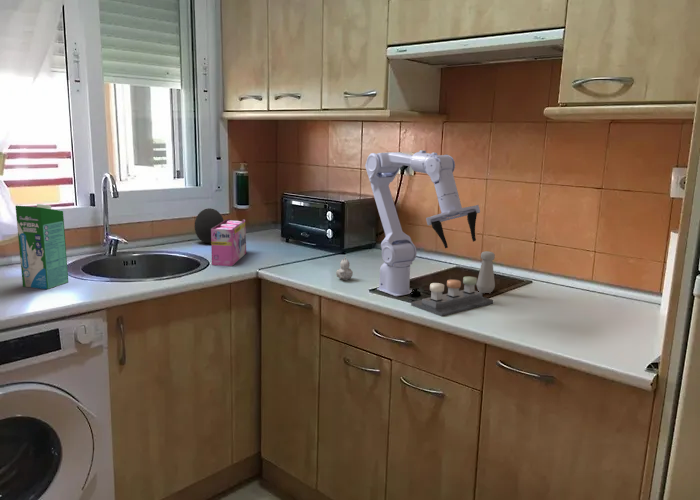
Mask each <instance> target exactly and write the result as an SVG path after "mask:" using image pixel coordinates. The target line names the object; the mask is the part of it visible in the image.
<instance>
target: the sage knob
mask: <svg viewBox="0 0 700 500" xmlns="http://www.w3.org/2000/svg"><path fill="white" fill-rule="evenodd" d="M477 280H478V277H476V276H469V275H468V276H463V278H462V284H463V290H464V292H468V293H472V292H474V290H475V291H476V289H475V287H476V286H477V285H476V284H477Z"/></svg>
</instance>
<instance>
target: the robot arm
mask: <svg viewBox="0 0 700 500" xmlns="http://www.w3.org/2000/svg"><path fill="white" fill-rule="evenodd" d="M364 166H365V170H366V173H367V176H368V180H369V183H370V187H371V191H372V195H373V198H374V200H375V204H376V208H377V211H378V215H379V217H380V221H381V225H382V228H383V232H384V236H385V237H384V239H383V240H381V243H380V247H381V258H382V260H383V263H382V264H381V265H380V268H379V277H378V278H379V279H378V281H379V282H378V284H379V286H378V287H377V288H376V290H377V291H380V292H383V293H386V294H389V295H391V296H394V297H400V296H405V295H411V294H412V293H411V291H412V290H413V289H411V288H410V281H411V277H410V276H411V265H413V262H414V261H415V260H416V258H417V254H418V253H417V248H416V245H415V244H414V243H413V241H412V238H411V236H410V235H409V234H406V233H405V232H404V231H403V229H402V225H401V221H400V219H399V216H398V212H397V209H396V206H395V202H394V199H393V196H392V192H391V189H390V184H391V183H392V182H394V179H395V178H396V177H397V174H399V171H400V169H401V168H403V166H408V167H410V168H411V170H412V171H414V172H416V173H421V174H422V173H423V174H427V176H429V178H430V180H431V182H432V183H433V184H434V185H433V186H434V189H435V193H436V197H437V198H436V199H437V202H438V205H439V208H440V213H438V214H435V215H432V216H428V217H426V218H425V220H426V224H427V226H431V228H432V229H433V230H434V231H435V233H436V234H437V236H438V238H439V239H440V240H441V242H442V244H443V247H444V249H448V248H449V247H448V243H447V239H446V237H445V232H444V229H443V225H442V222H447V221H450V220H454V219H458V218H459V219H460V218H462V217H467V219H466V220H467V223H468V228H469V230H470V236H471V239H472V242H476V240H477V239H476V223H477V222H476V221H477V217H478V214H480V213H481V209H480V206H479V204H477V205H476V204H475V205H472V206H466V207H462V204H461V199H460V197H459V195H460V194H459V192H458V191H459V190H458V188H457V183H456V180H455V176H454V171H455V168H456V163H455V159H454V158H453V156H451V155H449V154H443V155H442V154H438V153H437V152H431V153H428V152H427V150H420V149H419V151H417V152H415V153H413V154H408V153H404V152H400V151H396V152H395V151H394V152H392V151H390V152H389V151H387V152H377V153H376V152H371V153H369V155H368V156H367V159H366V161H365V165H364ZM410 293H411V294H410Z"/></svg>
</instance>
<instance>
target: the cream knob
mask: <svg viewBox="0 0 700 500" xmlns="http://www.w3.org/2000/svg"><path fill="white" fill-rule="evenodd" d="M429 291H431V292H430V297H431V299H434V300H441V299H442V295H443V293H444V292H445V284H444V283H441V282H440V283H439V282H432V283H430V285H429Z"/></svg>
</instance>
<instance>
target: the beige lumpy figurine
mask: <svg viewBox="0 0 700 500" xmlns="http://www.w3.org/2000/svg"><path fill="white" fill-rule="evenodd" d="M339 264H340V265H339V269H337V270H336V277H337V278H339V280H344V281H347V280H350V279H351V278H352V277H353V275H354V274H353V270H352V269H351V268H350V262H349V259H347V257H346V256H345V257H344V258H342V260H341V261H340V263H339Z"/></svg>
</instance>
